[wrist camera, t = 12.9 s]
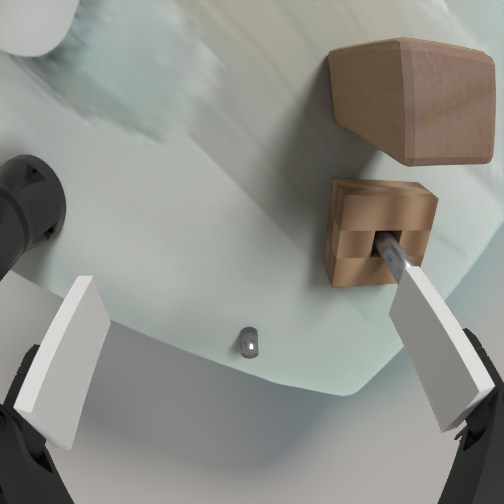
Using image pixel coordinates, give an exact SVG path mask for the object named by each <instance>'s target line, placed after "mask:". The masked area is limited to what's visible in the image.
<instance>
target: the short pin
mask: <svg viewBox="0 0 504 504" xmlns="http://www.w3.org/2000/svg"><path fill="white" fill-rule="evenodd" d="M241 355H242V356H243V357H244V358H248V359H251V358H255V357H256V356H257V355H258V335H257V330H256V329H255V328H253V327H246V328H244V329H242V331H241Z"/></svg>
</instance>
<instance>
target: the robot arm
mask: <svg viewBox="0 0 504 504" xmlns="http://www.w3.org/2000/svg"><path fill="white" fill-rule="evenodd" d="M65 212H66V202H65V196H64V192H63V188H62V186H61V183H60V181H59V179H58V177H57V176H56V174H55V173H54V171H53V170H52V169H51V168H50V166H49V165H47V164H46V163H45V162H44V161H43V160H41V159H39V158H37V157H35V156H32V155H19V156H16V157H14V158H12V159H10V160H9V161H7V162H5V163H4V164H3V165H2V166H1V167H0V281H1V280H2V279H3V277H4V276H5V275H6V274H7V272H8V271H9V270H10V269H11V267H12V266H13V265H14V264H15V262H16V261H17V260H18V259H19V258H20V256H21V255H22V254H23V253H24V252H25V251H27V250H29V249H32V248H34V247H36V246H39V245H41V244H43V243H45V242H47V241H48V240H50V239H51V238H52V237H53V236H54V235H55V234H56V233H57V231H58V230H59V229H60V227H61V226H62V224H63V221H64V218H65ZM389 316H390V318H391V320H392V322H393V324H394V326H395V328H396V330H397V332H398V334H399V336H400V338H401V340H402V342H403V344H404V346H405V348H406V350H407V352H408V355H409V357H410V359H411V361H412V363H413V365H414V368H415V370H416V372H417V374H418V376H419V379H420V381H421V383H422V386H423V388H424V390H425V392H426V395H427V397H428V400H429V402H430V405H431V407H432V409H433V412H434V414H435V417H436V419H437V422H438V424H439V427H440V430H441V432H442V433H443V432H446V431H448V430H451V429H454V428H457V427H458V426H459V425H460V424H461V423H462V422H463V421H464V420H466V423H467V425H466V427H464V428H463V429H462V430H461V431H460V432H459V433H458V434H457V435H456V437H455V439H454V440H457V439H458V438H459V437H460V436H461V435H462V437H461V440H460V445H459V447H458V451H457V454H456V457H455V460H454V463H453V466H452V469H451V471H450V474H449V477H448V479H447V482H446V484H445V487H444V489H443V492H442V494H441V497H440V499H439V501H438V504H504V382H503V381H502V379H501V377H500V376H499V374H498V372H497V370H496V368H495V367H494V365H493V363H492V361H491V360H490V358H489V356H487V353H486V351H485V350H484V348H482V345H481V343H480V342H479V340H478V339H477V337H476V336H475V335H474V334H473V333H472V332H470V330H468V329H467V328H465V329H462V328H461V327H460V325H459V324H458V322H457V320H456V319H455V317H454V316H453V314H452V313H451V311H450V310H449V309H448V307H447V305H446V304H445V302H444V301H443V300H442V298H441V297H440V295H439V294H438V292H437V291H436V289H435V288H434V287H433V285H432V284H431V282H430V281H429V280H428V278H427V277H426V276H425V274H424V273H423V271H422V270H421V269H420V267H419V266H412V267H404V270H403V273H402V276H401V279H400V283H399V286H398V289H397V292H396V295H395V297H394V300H393V303H392V306H391V309H390V312H389ZM110 324H111V323H110V320H109V317H108V315H107V312H106V310H105V307H104V304H103V302H102V299H101V296H100V293H99V291H98V288H97V285H96V282H95V279H94V276H78V277H77V279H76V281H75V282H74V284H73V286H72V288H71V289H70V291H69V293H68V294H67V296H66V298H65V300H64V302H63V303H62V305H61V307H60V309H59V311H58V312H57V315H56V316H55V318H54V320H53V322H52V324H51V326H50V328H49V330H48V331H47V334H46V335H45V337H44V339H43V341H42V343H41V345H34V346H33V347H32V348H31V349H30V350H29V351H28V352H27V353H26V354H25V356H24V358H23V361H22V363H21V367H19V369H18V371H17V375H16V376H15V378H14V380H13V382H12V384H11V387H10V389H9V391H8V394H7V396H6V399H5V401H4V403H3V405H1V404H0V504H74V502H73V500H72V499H71V497H70V495H69V493H68V491H67V489H66V487H65V485H64V483H63V481H62V479H61V477H60V475H59V473H58V471H57V469H56V467H55V465H54V463H53V460H52V458H51V456H50V454H49V451H48V450H47V449H46V447H45V443H46V440H47V441H49V442H50V443H51V444H52V445H53V446H55V447H58V448H62V449H65V450H69V451H71V449H72V445H73V441H74V437H75V433H76V429H77V425H78V422H79V418H80V414H81V411H82V408H83V404H84V401H85V398H86V394H87V391H88V388H89V385H90V381H91V378H92V375H93V372H94V369H95V366H96V363H97V360H98V357H99V354H100V351H101V348H102V345H103V343H104V340H105V337H106V334H107V332H108V329H109V326H110Z"/></svg>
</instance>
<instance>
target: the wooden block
mask: <svg viewBox="0 0 504 504" xmlns="http://www.w3.org/2000/svg"><path fill="white" fill-rule="evenodd" d="M328 62H329V70H330V79H331V88H332V99H333V109H334V118H335V120H336V122H337V123H338V124H340V125H341V126H343V127H345V128H346V129H348V130H350V131H351V132H353V133H355V134H356V135H358V136H360V137H361V138H363V139H364V140H366V141H367V142H369V143H371V144H372V145H374V146H375V147H377V148H378V149H380V150H381V151H383V152H384V153H386V154H387V155H389V156H390V157H392V158H393V159H395V160H396V161H398V162H399V163H401V164H403V165H405V166H408V167H410V166H431V165H462V164H487V163H489V162H491V159H492V157H493V149H494V136H495V114H496V84H495V65H494V62H493V59H492V58H491V57H490V56H488V55H487V54H485V53H484V52H482V51H478V50H474V49H469V48H465V47H460V46H455V45H450V44H445V43H439V42H433V41H427V40H420V39H412V38H404V37H402V38H395V39H388V40H381V41H375V42H369V43H364V44H358V45H353V46H348V47H344V48H339V49H335V50H332V51H330V52H329V55H328Z"/></svg>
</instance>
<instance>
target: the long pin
mask: <svg viewBox="0 0 504 504" xmlns="http://www.w3.org/2000/svg"><path fill="white" fill-rule="evenodd" d="M373 245H374V247H375V248H376V250H377V251H378V253H379V254H380V256H381V258H382V259H383V261H384V262H385V264H386V266H387V267H388V269H389V271H390V272H391V274H392V276H393V277H394V279H395V281H396V282H397V284H398V286H399V283H400V279H401V276H402V273H403V270H404V267H412V266H415V265H414V264H413V263H412V261H411V260H410V258H409V257H408V256H407V254H406V253H405V252H404V250H403V249H402V247H401V246H400V245H399V243H398V242H397V241H396V240H395V238H394V237H393V236H392V234H391V233H390V232H389V230H388V231H375V235H374V240H373Z"/></svg>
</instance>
